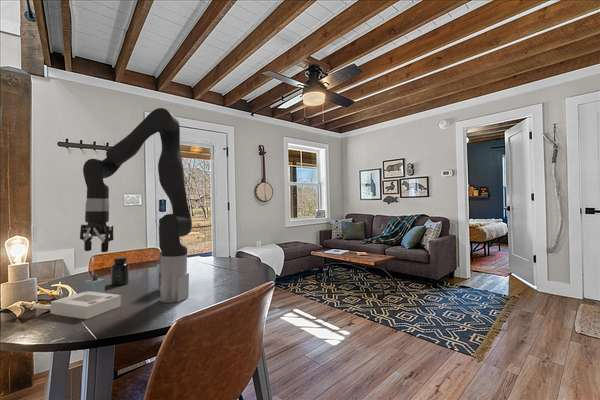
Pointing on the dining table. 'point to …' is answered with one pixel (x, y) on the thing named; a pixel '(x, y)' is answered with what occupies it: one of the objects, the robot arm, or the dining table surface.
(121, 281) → the supplement bottle
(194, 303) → the dining table surface
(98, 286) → the plug block
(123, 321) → the dining table surface
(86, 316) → the socket plate
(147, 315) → the dining table surface
